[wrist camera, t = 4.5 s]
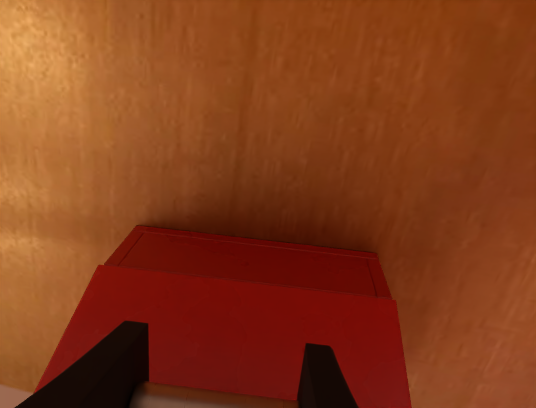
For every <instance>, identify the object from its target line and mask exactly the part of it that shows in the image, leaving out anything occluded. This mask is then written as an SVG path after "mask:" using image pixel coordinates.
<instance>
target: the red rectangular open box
mask: <svg viewBox="0 0 536 408" xmlns="http://www.w3.org/2000/svg"><path fill="white" fill-rule="evenodd" d="M104 265H107V266H115V267H123V268H132V269H140V270H149V271H157V272H165V273H174V274H182V275H190V276H199V277H207V278H215V279H224V280H232V281H240V282H249V283H257V284H266V285H274V286H282V287H291V288H299V289H307V290H316V291H324V292H332V293H341V294H349V295H357V296H366V297H374V298H383V299H391V300H392V297H391V294H390V291H389V288H388V285H387V282H386V279H385V276H384V273H383V270H382V267H381V264H380V261H379V258H378V256H377V253H371V252H362V251H353V250H345V249H336V248H328V247H319V246H310V245H302V244H293V243H285V242H276V241H267V240H259V239H250V238H242V237H233V236H225V235H216V234H207V233H199V232H190V231H182V230H173V229H164V228H156V227H147V226H139V225H137V226H136V227H135V228H134V229H133V230H132V231H131V233H130V234H129V235H128V236H127V237H126V238H125V240H124V241H123V242H122V243H121V244H120V246H119V247H118V248H117V249H116V250H115V252H114V253H113V254H112V255H111V256H110V257H109V259H108V260H107V261H106V262H105V263H104Z"/></svg>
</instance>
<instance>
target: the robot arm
mask: <svg viewBox="0 0 536 408" xmlns="http://www.w3.org/2000/svg"><path fill="white" fill-rule="evenodd" d="M140 381H147V382H149V330H148V323H143V322H135V321H127V320H125V321H124V322H122V323H121V324H120V325H119V326H117V327H116V328H115V329H114V330H113V331H111V332H110V333H109V334H108V335H107V336H106V337H104V338H103V339H102V340H101V341H100V342H98V343H97V344H96V345H95V346H94V347H93V348H91V349H90V350H89V351H88V352H87V353H85V354H84V355H83V356H82V357H81V358H79V359H78V360H77V361H76V362H74V363H73V364H72V365H71V366H69V367H68V368H67V369H66V370H64V371H63V372H62V373H61V374H59V375H58V376H57V377H56V378H54V379H53V380H52V381H50V382H49V383H48V384H46V385H45V386H44V387H42V388H41V389H39V390H38V391H37V392H35V393H34V394H33V395H31V396H30V397H29V398H27V399H26V400H25V401H23V402H22V403H21V404H19V405H18V406H16V407H15V408H127V405H128V401H129V398H130V396H131V393H132V391H133V389H134V387H135V385H136V384H137V383H138V382H140ZM296 401H299V402H300V405H301V408H359V407H358V405H357V403H356V401H355V399H354V397H353V395H352V393H351V391H350V389H349V387H348V385H347V382H346V380H345V378H344V376H343V374H342V371H341V369H340V366H339V364H338V362H337V359H336V356H335V354H334V351H333V349H332V348H331V347H330V346H328V345H320V344H312V343H306V344H305V351H304V357H303V363H302V369H301V375H300V382H299V388H298V394H297V400H296Z"/></svg>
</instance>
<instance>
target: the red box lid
mask: <svg viewBox="0 0 536 408" xmlns="http://www.w3.org/2000/svg"><path fill="white" fill-rule="evenodd" d="M125 320H127V321H135V322H143V323H148V330H149V382H147V381H140V382H138V383H137V384H136V385H135V387H134V389H133V391H132V393H131V396H130V398H129V401H128V405H127V408H301V405H300V402H299V401H296V400H297V394H298V388H299V382H300V375H301V369H302V363H303V357H304V351H305V344H306V343H312V344H320V345H328V346H330V347H331V348H332V349H333V351H334V354H335V356H336V359H337V362H338V364H339V366H340V369H341V371H342V374H343V376H344V378H345V380H346V382H347V385H348V387H349V389H350V391H351V393H352V395H353V397H354V399H355V401H356V403H357V405H358V407H359V408H412V407H411V400H410V393H409V386H408V379H407V372H406V366H405V359H404V352H403V345H402V338H401V331H400V324H399V318H398V311H397V304H396V300H391V299H383V298H374V297H366V296H357V295H349V294H341V293H332V292H324V291H316V290H307V289H299V288H291V287H282V286H274V285H266V284H257V283H249V282H240V281H232V280H224V279H215V278H207V277H199V276H190V275H182V274H174V273H165V272H157V271H149V270H140V269H132V268H123V267H115V266H107V265H98V267H97V269H96V271H95V273H94V275H93V277H92V279H91V281H90V283H89V285H88V287H87V289H86V291H85V293H84V294H83V296H82V298H81V300H80V302H79V304H78V306H77V308H76V310H75V312H74V314H73V316H72V318H71V320H70V322H69V324H68V326H67V328H66V330H65V332H64V334H63V336H62V338H61V340H60V342H59V344H58V346H57V348H56V350H55V352H54V354H53V356H52V358H51V360H50V362H49V364H48V366H47V368H46V370H45V372H44V374H43V376H42V378H41V380H40V382H39V384H38V386H37V388H36V390H35V392H37V391H38V390H39V389H41V388H42V387H44V386H45V385H46V384H48V383H49V382H50V381H52V380H53V379H54V378H56V377H57V376H58V375H59V374H61V373H62V372H63V371H64V370H66V369H67V368H68V367H69V366H71V365H72V364H73V363H74V362H76V361H77V360H78V359H79V358H81V357H82V356H83V355H84V354H85V353H87V352H88V351H89V350H90V349H91V348H93V347H94V346H95V345H96V344H97V343H98V342H100V341H101V340H102V339H103V338H104V337H106V336H107V335H108V334H109V333H110V332H111V331H113V330H114V329H115V328H116V327H117V326H119V325H120V324H121V323H122V322H124V321H125ZM35 392H34V393H35Z"/></svg>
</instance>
